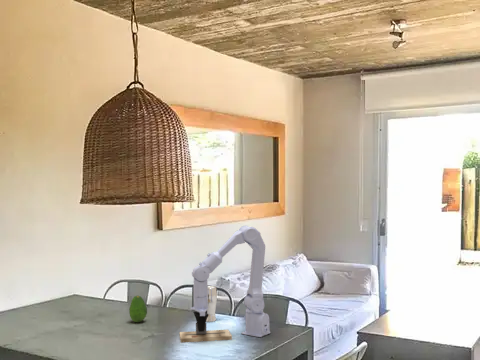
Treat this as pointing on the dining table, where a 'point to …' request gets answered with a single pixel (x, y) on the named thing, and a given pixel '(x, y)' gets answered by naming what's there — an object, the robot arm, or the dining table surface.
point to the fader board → (205, 336)
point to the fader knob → (198, 330)
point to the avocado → (138, 309)
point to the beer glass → (211, 303)
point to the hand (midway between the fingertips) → (201, 330)
